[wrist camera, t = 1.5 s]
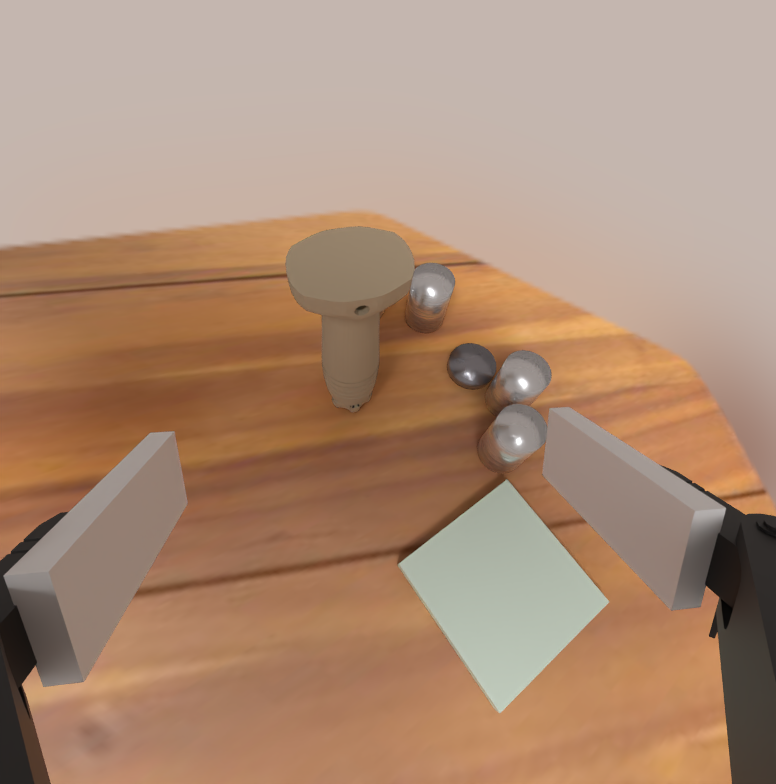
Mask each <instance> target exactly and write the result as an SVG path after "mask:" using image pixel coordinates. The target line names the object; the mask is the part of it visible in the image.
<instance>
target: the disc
mask: <svg viewBox="0 0 776 784" xmlns="http://www.w3.org/2000/svg"><path fill="white" fill-rule="evenodd" d="M447 370H448V374H449V376H450V378H451V379H452V380H453V381H454V382H455V383H456V384H457V385H459V386H461V387H463V388H466V389H471V390H475V389H480V388H483V387H485V386H486V385H487V384H488V383H489V382H490V381H491V379H492V377H493V376H494V374H495V372H496V362H495V359H494V357H493V355H492V354H491V353H490V352H489V351H488V350H487V349H486V348H484V347H482V346H480V345H477V344H472V343H467V344H462V345H460V346H458V347H456V348H455V349H454V350H453V351H452V353H451V355H450V358H449V360H448V363H447Z"/></svg>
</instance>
